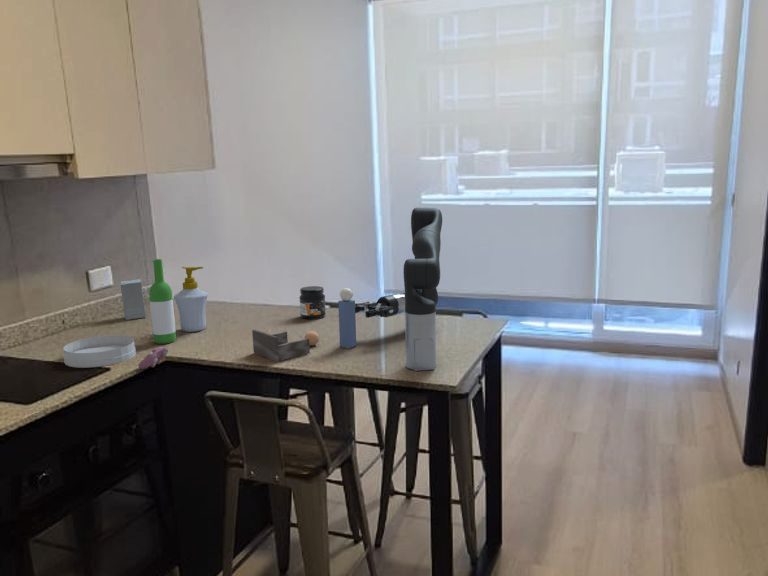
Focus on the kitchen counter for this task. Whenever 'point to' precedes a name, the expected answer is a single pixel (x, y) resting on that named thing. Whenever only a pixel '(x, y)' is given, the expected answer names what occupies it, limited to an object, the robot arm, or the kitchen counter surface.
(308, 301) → the supplement container
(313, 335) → the ball
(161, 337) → the wine bottle
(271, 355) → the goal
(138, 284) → the skincare box
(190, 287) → the soap bottle
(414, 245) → the robot arm
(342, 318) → the figure
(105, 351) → the dish
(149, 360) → the video game controller
